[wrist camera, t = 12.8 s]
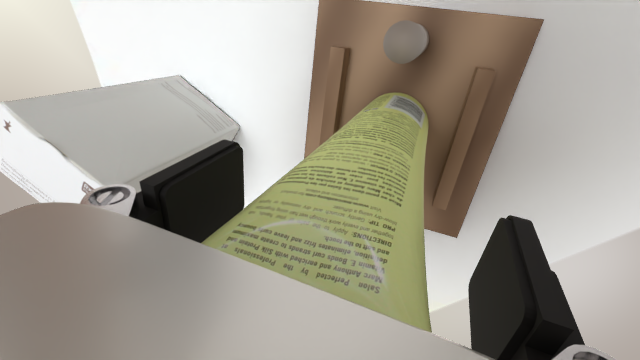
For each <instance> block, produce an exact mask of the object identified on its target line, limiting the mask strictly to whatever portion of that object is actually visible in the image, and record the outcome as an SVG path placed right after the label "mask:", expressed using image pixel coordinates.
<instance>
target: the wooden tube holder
mask: <svg viewBox="0 0 640 360" xmlns="http://www.w3.org/2000/svg"><path fill="white" fill-rule="evenodd" d="M543 21H544V19H535V18H525V17H515V16H506V15H496V14H487V13H477V12H467V11H458V10H448V9H439V8H429V7H419V6H410V5H400V4H391V3H381V2H371V1H362V0H319V7H318V18H317V29H316V39H315V50H314V60H313V71H312V81H311V92H310V102H309V113H308V124H307V134H306V145H305V155H304V159H305V158H306V157H307V156H309V155H310V154H311V153H312V152H313V151H315V150H316V149H317V148H318V147H319V146H320V145H322V144H323V143H324V142H325V141H327V140H328V139H329V138H330V137H331V136H333V135H334V134H335V133H336V132H337V131H338V130H340V129H341V128H342V127H343V126H344V125H345V124H347V123H348V122H349V121H350V120H351V119H352V118H353V117H355V116H356V115H357V114H358V113H359V112H360V111H361V110H363V109H364V108H365V107H366V106H367V105H368V104H369V103H371V102H372V101H373V100H374V99H376V98H377V97H379V96H381V95H384V94H387V93H403V94H407V95H409V96H411V97H413V98H415V99H416V100H417V101H418V102H419V103H420V104H421V105H422V106H423V108H424V109H425V111H426V114H427V117H428V124H429V127H428V136H427V144H426V152H425V166H424V229H428V230H431V231H435V232H438V233H442V234H445V235H449V236H452V237H456V238H457V236H458V234H459V231H460V229H461V226H462V224H463V221H464V219H465V216H466V214H467V211H468V209H469V206H470V204H471V201H472V199H473V196H474V194H475V191H476V189H477V186H478V184H479V181H480V179H481V176H482V174H483V171H484V169H485V166H486V163H487V161H488V158H489V156H490V153H491V151H492V148H493V146H494V143H495V141H496V138H497V136H498V133H499V131H500V128H501V126H502V123H503V121H504V118H505V116H506V113H507V111H508V108H509V106H510V103H511V101H512V98H513V96H514V93H515V91H516V88H517V86H518V83H519V81H520V78H521V76H522V73H523V71H524V68H525V66H526V63H527V61H528V58H529V56H530V53H531V51H532V48H533V46H534V43H535V41H536V38H537V36H538V33H539V31H540V28H541V26H542V23H543Z"/></svg>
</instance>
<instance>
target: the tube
mask: <svg viewBox="0 0 640 360" xmlns="http://www.w3.org/2000/svg"><path fill="white" fill-rule="evenodd" d="M428 127H429V124H428V117H427V114H426V111H425V109H424V108H423V106H422V105H421V104H420V103H419V102H418V101H417V100H416V99H415V98H413V97H411V96H409V95H407V94H403V93H387V94H384V95H381V96H379V97H377V98H376V99H374V100H373V101H372V102H371V103H369V104H368V105H367V106H366V107H365V108H364V109H363V110H361V111H360V112H359V113H358V114H357V115H356V116H355V117H353V118H352V119H351V120H350V121H349V122H348V123H347V124H345V125H344V126H343V127H342V128H341V129H340V130H338V131H337V132H336V133H335V134H334V135H333V136H331V137H330V138H329V139H328V140H327V141H325V142H324V143H323V144H322V145H320V146H319V147H318V148H317V149H316V150H315V151H313V152H312V153H311V154H310V155H309V156H307V157H306V158H305V159H304V160H303V161H302V162H300V163H299V164H298V165H297V166H295V167H294V168H293V169H292V170H291V171H289V172H288V173H287V174H286V175H284V176H283V177H282V178H281V179H280V180H278V181H277V182H276V183H275V184H273V185H272V186H271V187H270V188H269V189H267V190H266V191H265V192H264V193H263V194H261V195H260V196H259V197H258V198H256V199H255V200H254V201H253V202H252V203H250V204H249V205H248V206H247V207H246V208H244V209H243V210H242V211H241V212H239V213H238V214H237V215H236V216H234V217H233V218H232V219H231V220H229V221H228V222H227V223H226V224H224V225H223V226H222V227H221V228H219V229H218V230H217V231H216V232H214V233H213V234H212V235H211V236H209V237H208V238H207V239H206V240H204V241H203V242H202V243H201V244H204V245H206V246H209V247H212V248H214V249H217V250H219V251H222V252H225V253H227V254H230V255H232V256H235V257H238V258H240V259H243V260H245V261H248V262H251V263H253V264H256V265H258V266H261V267H264V268H266V269H269V270H271V271H274V272H276V273H279V274H282V275H284V276H287V277H289V278H292V279H295V280H297V281H300V282H302V283H305V284H308V285H310V286H313V287H315V288H318V289H321V290H323V291H326V292H328V293H331V294H334V295H336V296H339V297H341V298H344V299H346V300H349V301H352V302H354V303H357V304H359V305H362V306H364V307H367V308H369V309H372V310H375V311H377V312H380V313H382V314H385V315H387V316H390V317H392V318H395V319H398V320H400V321H403V322H405V323H408V324H410V325H413V326H415V327H418V328H421V329H423V330H426V331H428V332H431V333H432V331H431V325H430V317H429V308H428V295H427V282H426V266H425V244H424V166H425V152H426V144H427V136H428Z"/></svg>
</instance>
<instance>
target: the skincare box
mask: <svg viewBox="0 0 640 360" xmlns="http://www.w3.org/2000/svg"><path fill="white" fill-rule="evenodd" d="M239 128H240V126H239V125H238V124H237V123H236V122H234V121H233V120H232V119H231V118H230V117H228V116H227V115H226V114H225V113H224V112H222V111H221V110H220V109H219V108H217V107H216V106H215V105H214V104H213V103H211V102H210V101H209V100H208V99H207V98H206V97H204V96H203V95H202V94H201V93H200V92H198V91H197V90H196V89H195V88H193V87H192V86H191V85H189V84H188V83H187V82H186V81H185V80H184V79H183V78H181V77H180V76H179V75H177V76H170V77H164V78H157V79H151V80H145V81H139V82H132V83H126V84H119V85H113V86H106V87H100V88H93V89H87V90H81V91H73V92H68V93H61V94H55V95H48V96H41V97H35V98H29V99H21V100H15V101H5V102H0V171H1V172H2V173H3V174H5V175H6V176H7V177H8V178H10V179H11V180H12V181H13V182H15V183H16V184H17V185H19V186H20V187H21V188H22V189H24V190H25V191H26V192H28V193H29V194H30V195H32V196H33V197H34V198H35V199H37V200H38V201H39V202H40V203H49V202H67V203H78V204H80V202H81V200H82V198H83V197H84V196H85V195H86V194H87V193H88V192H90V191H92V190H94V189H96V188H99V187H102V186H106V185H112V184H125V185H130V186H132V187H134V188H135V190H136V193H138V192H140V191H141V187H140V182H139V181H141V180H143V179H145V178H147V177H149V176H151V175H153V174H155V173H157V172H159V171H161V170H163V169H165V168H167V167H169V166H171V165H173V164H175V163H177V162H179V161H181V160H183V159H185V158H187V157H189V156H191V155H193V154H195V153H197V152H199V151H201V150H203V149H205V148H207V147H209V146H211V145H213V144H215V143H217V142H219V141H221V140H224V139H225V140H229V141H232V140H233V139H234V137H235V135H236V133H237V132H238V130H239Z"/></svg>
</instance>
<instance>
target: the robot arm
mask: <svg viewBox="0 0 640 360" xmlns="http://www.w3.org/2000/svg"><path fill="white" fill-rule="evenodd" d="M139 182H140V187H141V191H140V192H138V193H136V190H135V188H134V187H132V186H130V185H125V184H112V185H106V186H102V187H99V188H96V189H94V190H92V191H90V192H88V193H87V194H86V195H85V196H84V197H83V198H82V200H81V202H80V204H78V203H67V202H49V203H37V204H31V205H27V206H23V207H20V208H17V209H14V210H12V211H9V212H7V213H4V214H2V215H0V360H615V359H614V358H613V357H611V356H610V355H608V354H606V353H604V352H602V351H600V350H598V349H596V348H593V347H589V346H586V345H585V344H584V341H583V339H582V337H581V334H580V332H579V329H578V327H577V324H576V322H575V319H574V317H573V315H572V312H571V310H570V307H569V305H568V302H567V300H566V297H565V295H564V292H563V290H562V288H561V285H560V282H559V280H558V278H557V275H556V274H555V272H553V271H551V270H550V267H549V264H548V262H547V259H546V257H545V254H544V252H543V249H542V246H541V244H540V241H539V239H538V236H537V234H536V231H535V229H534V226H533V223H532V222H531V221H530V220H526V219H523V218H519V217H515V216H511V215H510V216H508V217H507V218H506V219H505V218H500V219H499V221H498V223H497V225H496V227H495V229H494V231H493V233H492V235H491V237H490V240H489V242H488V244H487V246H486V248H485V250H484V252H483V254H482V256H481V258H480V260H479V263H478V265H477V267H476V269H475V271H474V273H473V275H472V277H471V279H470V283H469V290H468V291H469V309H470V327H471V346H472V349H469V348H467V347H465V346H462V345H460V344H457V343H455V342H453V341H450V340H448V339H446V338H443V337H441V336H438V335H436V334H433V333H431V332H428V331H426V330H423V329H421V328H418V327H415V326H413V325H410V324H408V323H405V322H403V321H400V320H398V319H395V318H392V317H390V316H387V315H385V314H382V313H380V312H377V311H375V310H372V309H369V308H367V307H364V306H362V305H359V304H357V303H354V302H352V301H349V300H346V299H344V298H341V297H339V296H336V295H334V294H331V293H328V292H326V291H323V290H321V289H318V288H315V287H313V286H310V285H308V284H305V283H302V282H300V281H297V280H295V279H292V278H289V277H287V276H284V275H282V274H279V273H276V272H274V271H271V270H269V269H266V268H264V267H261V266H258V265H256V264H253V263H251V262H248V261H245V260H243V259H240V258H238V257H235V256H232V255H230V254H227V253H225V252H222V251H219V250H217V249H214V248H212V247H209V246H206V245H204V244H201V243H202V242H203V241H204V240H206V239H207V238H208V237H209V236H211V235H212V234H213V233H214V232H216V231H217V230H218V229H219V228H221V227H222V226H223V225H224V224H226V223H227V222H228V221H229V220H231V219H232V218H233V217H234V216H236V215H237V214H238V213H239V212H241V211H242V210H243V208H244V174H243V150H242V148H241V147H240V145H239V144H238V143H236V142H233V141H229V140H225V139H224V140H221V141H219V142H217V143H215V144H213V145H211V146H209V147H207V148H205V149H203V150H201V151H199V152H197V153H195V154H193V155H191V156H189V157H187V158H185V159H183V160H181V161H179V162H177V163H175V164H173V165H171V166H169V167H167V168H165V169H163V170H161V171H159V172H157V173H155V174H153V175H151V176H149V177H147V178H145V179H143V180H141V181H139Z"/></svg>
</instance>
